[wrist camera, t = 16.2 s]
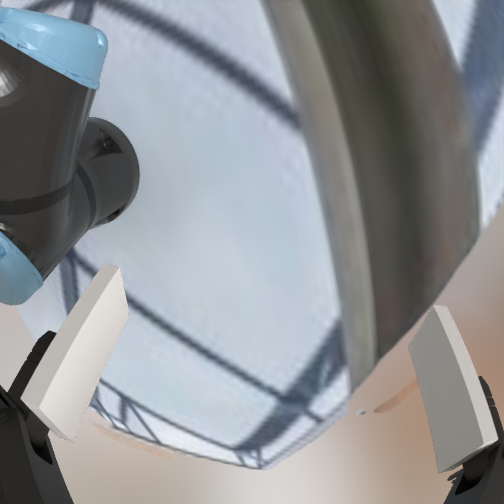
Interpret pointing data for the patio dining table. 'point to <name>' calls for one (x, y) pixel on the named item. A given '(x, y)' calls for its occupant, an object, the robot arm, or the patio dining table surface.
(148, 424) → the patio dining table surface
